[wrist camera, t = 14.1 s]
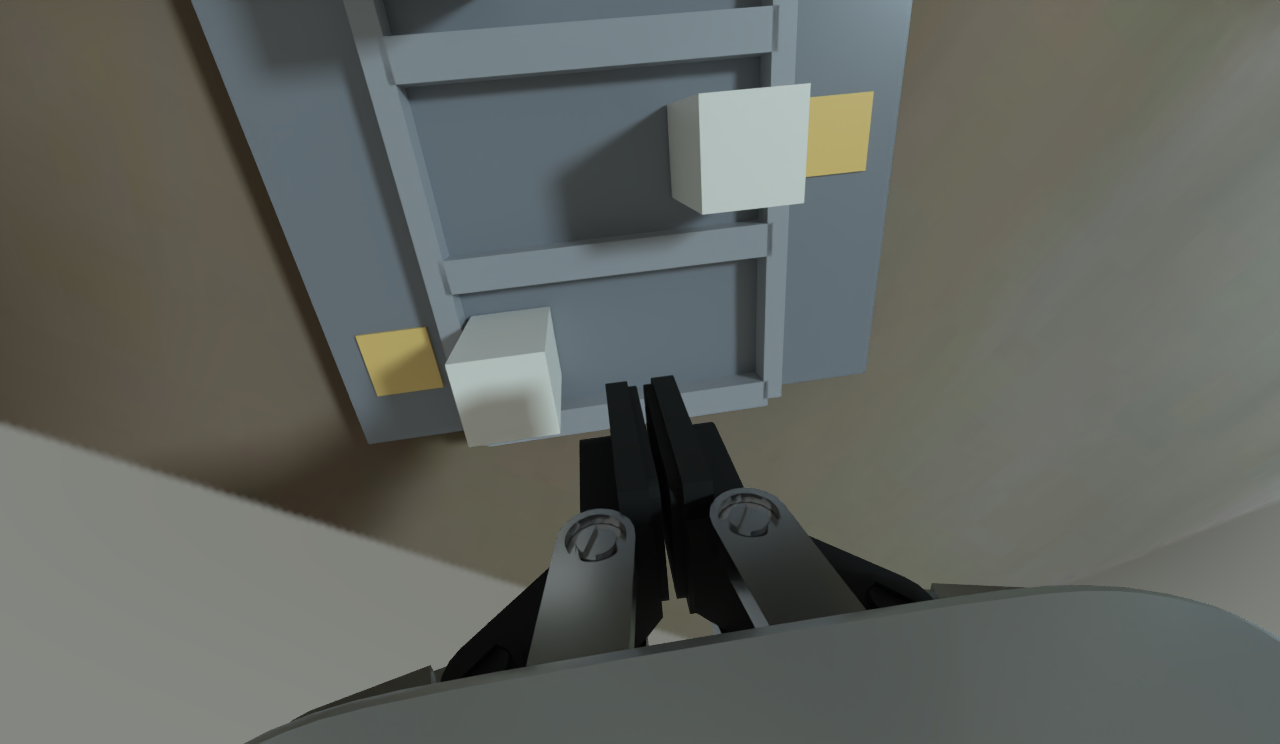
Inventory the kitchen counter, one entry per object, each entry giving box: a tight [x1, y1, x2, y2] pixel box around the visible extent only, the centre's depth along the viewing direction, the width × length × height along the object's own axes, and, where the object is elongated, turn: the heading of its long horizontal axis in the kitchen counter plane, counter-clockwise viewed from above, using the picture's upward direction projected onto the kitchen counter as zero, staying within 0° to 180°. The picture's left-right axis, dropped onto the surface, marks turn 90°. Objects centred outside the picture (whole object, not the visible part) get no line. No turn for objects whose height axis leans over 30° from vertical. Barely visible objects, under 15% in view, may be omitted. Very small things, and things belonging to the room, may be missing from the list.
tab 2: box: [667, 83, 811, 215], centre depth 15 cm, size 3×3×4 cm
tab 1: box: [445, 307, 562, 447], centre depth 18 cm, size 3×3×4 cm
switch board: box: [191, 0, 913, 447], centre depth 17 cm, size 22×21×2 cm
